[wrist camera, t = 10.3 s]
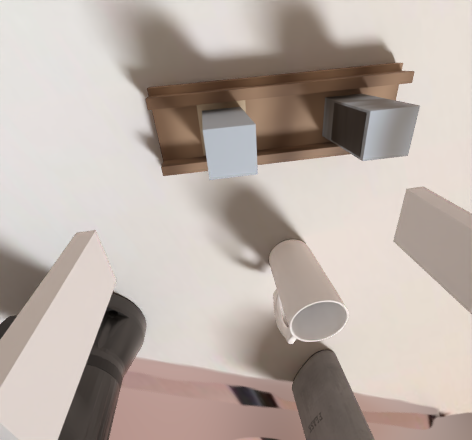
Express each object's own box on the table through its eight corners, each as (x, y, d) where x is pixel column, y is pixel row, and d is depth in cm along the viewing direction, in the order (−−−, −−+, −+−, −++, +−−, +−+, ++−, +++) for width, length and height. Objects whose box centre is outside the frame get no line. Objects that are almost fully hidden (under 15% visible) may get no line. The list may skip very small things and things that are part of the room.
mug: (282, 230, 38) (312, 293, 28) (320, 245, 41) (361, 309, 30) (248, 281, 42) (263, 352, 32) (284, 292, 45) (309, 362, 34)
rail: (167, 171, 32) (155, 213, 24) (149, 87, 28) (125, 100, 19) (380, 146, 34) (443, 177, 25) (395, 62, 29) (479, 64, 20)
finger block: (207, 149, 30) (209, 179, 23) (201, 110, 28) (202, 130, 20) (243, 145, 30) (258, 174, 23) (240, 106, 28) (256, 124, 21)
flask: (313, 347, 53) (367, 485, 36) (339, 350, 54) (403, 484, 37) (284, 391, 60) (318, 524, 43) (308, 392, 61) (350, 522, 44)
